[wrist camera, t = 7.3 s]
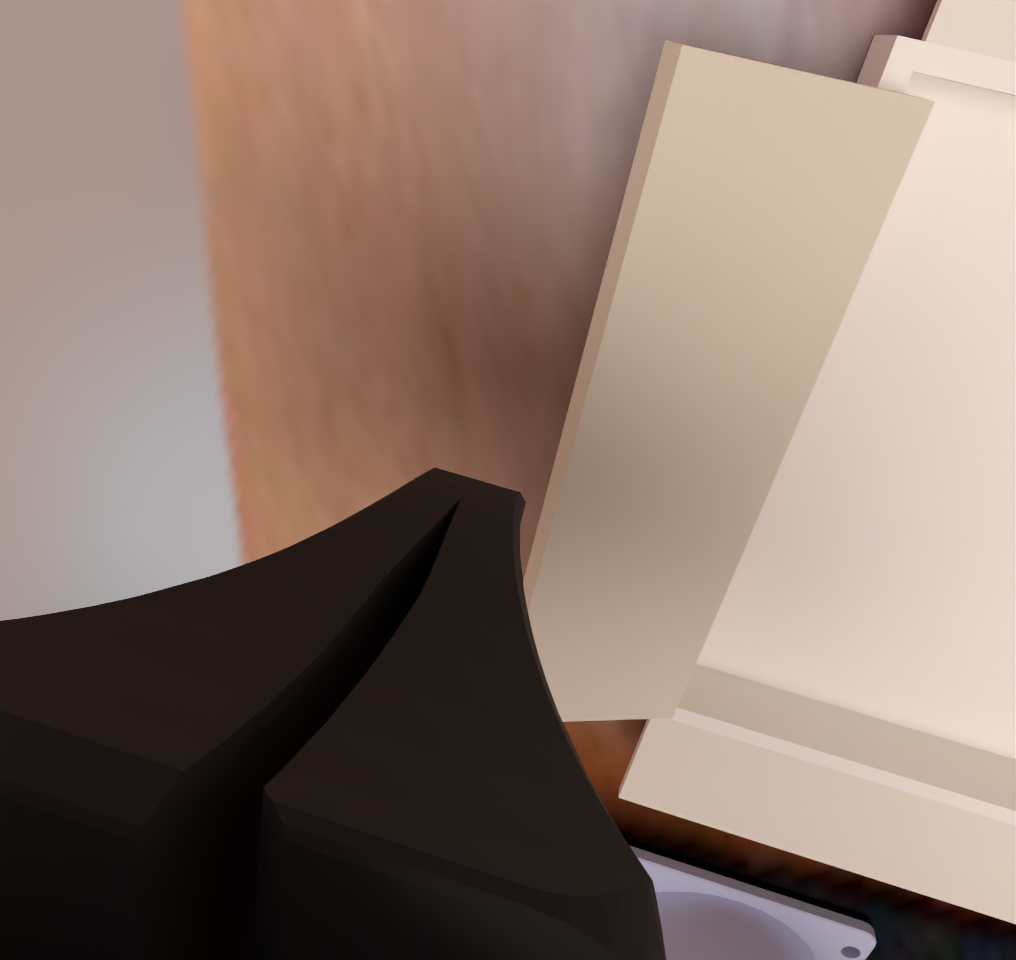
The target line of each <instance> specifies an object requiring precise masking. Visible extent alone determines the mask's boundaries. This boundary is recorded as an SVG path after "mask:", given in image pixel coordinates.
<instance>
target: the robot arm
mask: <svg viewBox="0 0 1016 960" xmlns="http://www.w3.org/2000/svg"><path fill="white" fill-rule="evenodd" d="M525 503H526V502H525V500H524V498H523V497H522V495H521V493H520V492H517V491H513V490H510V489H507V488H503V487H500V486H496V485H493V484H489V483H486V482H482V481H479V480H476V479H472V478H469V477H465V476H462V475H458V474H455V473H451V472H448V471H444V470H441V469H438V468H433V469H431V470H429V471H428V472H426V473H424V474H422V475H420V476H419V477H417V478H415V479H414V480H412V481H410V482H409V483H407V484H405V485H404V486H402V487H400V488H399V489H397V490H395V491H394V492H392V493H390V494H389V495H387V496H385V497H384V498H382V499H380V500H379V501H377V502H375V503H373V504H372V505H370V506H368V507H366V508H364V509H363V510H361V511H359V512H357V513H355V514H354V515H352V516H350V517H348V518H346V519H345V520H343V521H341V522H339V523H337V524H335V525H334V526H332V527H330V528H328V529H326V530H323V531H321V532H319V533H317V534H315V535H313V536H311V537H309V538H307V539H305V540H303V541H301V542H298V543H296V544H294V545H292V546H290V547H288V548H285V549H283V550H281V551H278V552H276V553H273V554H271V555H268V556H266V557H263V558H261V559H258V560H256V561H253V562H250V563H247V564H244V565H242V566H239V567H236V568H233V569H231V570H228V571H225V572H222V573H219V574H216V575H213V576H210V577H206V578H203V579H199V580H195V581H192V582H188V583H185V584H181V585H177V586H174V587H171V588H167V589H163V590H159V591H156V592H152V593H148V594H145V595H141V596H137V597H133V598H129V599H124V600H119V601H115V602H110V603H105V604H101V605H96V606H91V607H85V608H80V609H74V610H69V611H64V612H58V613H52V614H46V615H40V616H33V617H27V618H20V619H13V620H4V621H0V960H865V959H866V958H867V957H868V955H869V954H870V953H871V951H872V950H873V949H874V947H875V945H876V937H875V932H874V929H873V927H872V926H871V925H870V924H868V923H866V922H864V921H862V920H858V919H855V918H852V917H849V916H846V915H843V914H840V913H837V912H834V911H831V910H828V909H824V908H821V907H818V906H815V905H812V904H809V903H806V902H803V901H800V900H797V899H793V898H790V897H787V896H784V895H781V894H778V893H775V892H772V891H769V890H766V889H763V888H759V887H756V886H753V885H750V884H747V883H744V882H741V881H738V880H735V879H732V878H728V877H725V876H722V875H719V874H716V873H713V872H710V871H707V870H704V869H701V868H698V867H694V866H691V865H688V864H685V863H682V862H679V861H676V860H673V859H670V858H667V857H663V856H660V855H657V854H654V853H651V852H648V851H645V850H642V849H639V848H636V847H633V846H629V844H628V843H627V841H626V840H625V838H624V837H623V835H622V834H621V832H620V831H619V829H618V827H617V826H616V824H615V823H614V821H613V819H612V818H611V816H610V814H609V813H608V811H607V809H606V807H605V806H604V804H603V802H602V800H601V798H600V797H599V795H598V793H597V791H596V789H595V787H594V786H593V784H592V782H591V780H590V778H589V777H588V775H587V773H586V771H585V769H584V767H583V765H582V762H581V760H580V758H579V756H578V754H577V752H576V750H575V747H574V745H573V743H572V741H571V739H570V737H569V734H568V732H567V730H566V728H565V726H564V724H563V722H562V719H561V717H560V715H559V713H558V710H557V707H556V705H555V702H554V699H553V697H552V694H551V691H550V689H549V686H548V683H547V680H546V677H545V674H544V671H543V668H542V665H541V662H540V658H539V655H538V652H537V648H536V644H535V641H534V637H533V633H532V628H531V624H530V619H529V614H528V609H527V605H526V599H525V593H524V586H523V577H522V569H521V560H520V523H521V519H522V515H523V511H524V507H525Z"/></svg>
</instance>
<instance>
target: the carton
mask: <svg viewBox="0 0 1016 960" xmlns="http://www.w3.org/2000/svg"><path fill="white" fill-rule="evenodd" d="M857 83H859V84H864V85H868V86H873V87H877V88H882V89H886V90H890V91H895V92H899V93H904V94H908V95H912V96H916V97H920V98H924V99H928V100H931V101H935V103H934V105H933V108H932V110H931V112H930V115H929V117H928V120H927V122H926V124H925V127H924V129H923V131H922V134H921V136H920V138H919V141H918V143H917V145H916V148H915V150H914V152H913V155H912V157H911V159H910V162H909V164H908V167H907V169H906V171H905V174H904V176H903V178H902V181H901V183H900V185H899V188H898V190H897V192H896V195H895V197H894V199H893V202H892V204H891V206H890V209H889V211H888V214H887V216H886V218H885V221H884V223H883V225H882V228H881V230H880V232H879V235H878V237H877V239H876V242H875V244H874V246H873V249H872V251H871V253H870V256H869V258H868V260H867V263H866V265H865V268H864V270H863V272H862V275H861V277H860V279H859V282H858V284H857V286H856V289H855V291H854V293H853V296H852V298H851V300H850V303H849V305H848V307H847V310H846V312H845V315H844V317H843V319H842V322H841V324H840V326H839V329H838V331H837V333H836V336H835V338H834V340H833V343H832V345H831V347H830V350H829V352H828V354H827V357H826V359H825V362H824V364H823V366H822V369H821V371H820V373H819V376H818V378H817V380H816V383H815V385H814V387H813V390H812V392H811V394H810V397H809V399H808V401H807V404H806V406H805V409H804V411H803V413H802V416H801V418H800V420H799V423H798V425H797V427H796V430H795V432H794V434H793V437H792V439H791V441H790V444H789V446H788V448H787V451H786V453H785V456H784V458H783V460H782V463H781V465H780V467H779V470H778V472H777V474H776V477H775V479H774V481H773V484H772V486H771V488H770V491H769V493H768V495H767V498H766V500H765V502H764V505H763V507H762V510H761V512H760V514H759V517H758V519H757V521H756V524H755V526H754V528H753V531H752V533H751V535H750V538H749V540H748V542H747V545H746V547H745V549H744V552H743V554H742V557H741V559H740V561H739V564H738V566H737V568H736V571H735V573H734V575H733V578H732V580H731V582H730V585H729V587H728V589H727V592H726V594H725V596H724V599H723V601H722V604H721V606H720V608H719V611H718V613H717V615H716V618H715V620H714V622H713V625H712V627H711V629H710V632H709V634H708V636H707V639H706V641H705V643H704V646H703V648H702V651H701V653H700V655H699V658H698V660H697V662H696V665H695V667H694V669H693V672H692V674H691V676H690V679H689V681H688V683H687V686H686V688H685V690H684V693H683V695H682V698H681V700H680V702H679V705H678V707H677V709H676V712H675V714H674V716H673V718H660V719H647V721H646V723H645V726H644V728H643V731H642V733H641V736H640V738H639V741H638V743H637V746H636V748H635V751H634V753H633V756H632V758H631V761H630V763H629V766H628V768H627V771H626V773H625V776H624V778H623V780H622V783H621V785H620V788H619V795H618V798H621V799H624V800H627V801H630V802H634V803H637V804H640V805H643V806H646V807H649V808H652V809H656V810H659V811H662V812H665V813H668V814H671V815H674V816H678V817H681V818H684V819H687V820H690V821H693V822H696V823H700V824H703V825H706V826H709V827H712V828H715V829H718V830H722V831H725V832H728V833H731V834H734V835H737V836H740V837H744V838H747V839H750V840H753V841H756V842H759V843H762V844H766V845H769V846H772V847H775V848H778V849H781V850H784V851H788V852H791V853H794V854H797V855H800V856H803V857H806V858H810V859H813V860H816V861H819V862H822V863H825V864H828V865H832V866H835V867H838V868H841V869H844V870H847V871H850V872H854V873H857V874H860V875H863V876H866V877H869V878H872V879H876V880H879V881H882V882H885V883H888V884H891V885H894V886H898V887H901V888H904V889H907V890H910V891H913V892H916V893H920V894H923V895H926V896H929V897H932V898H935V899H938V900H942V901H945V902H948V903H951V904H954V905H957V906H960V907H964V908H967V909H970V910H973V911H976V912H979V913H982V914H986V915H989V916H992V917H995V918H998V919H1001V920H1004V921H1008V922H1011V923H1014V924H1016V0H937V2H936V5H935V7H934V10H933V12H932V15H931V17H930V20H929V22H928V25H927V27H926V30H925V32H924V35H923V37H922V40H917V39H912V38H908V37H903V36H899V35H874V38H873V40H872V43H871V46H870V48H869V51H868V54H867V56H866V59H865V62H864V64H863V67H862V70H861V72H860V75H859V78H858V80H857Z"/></svg>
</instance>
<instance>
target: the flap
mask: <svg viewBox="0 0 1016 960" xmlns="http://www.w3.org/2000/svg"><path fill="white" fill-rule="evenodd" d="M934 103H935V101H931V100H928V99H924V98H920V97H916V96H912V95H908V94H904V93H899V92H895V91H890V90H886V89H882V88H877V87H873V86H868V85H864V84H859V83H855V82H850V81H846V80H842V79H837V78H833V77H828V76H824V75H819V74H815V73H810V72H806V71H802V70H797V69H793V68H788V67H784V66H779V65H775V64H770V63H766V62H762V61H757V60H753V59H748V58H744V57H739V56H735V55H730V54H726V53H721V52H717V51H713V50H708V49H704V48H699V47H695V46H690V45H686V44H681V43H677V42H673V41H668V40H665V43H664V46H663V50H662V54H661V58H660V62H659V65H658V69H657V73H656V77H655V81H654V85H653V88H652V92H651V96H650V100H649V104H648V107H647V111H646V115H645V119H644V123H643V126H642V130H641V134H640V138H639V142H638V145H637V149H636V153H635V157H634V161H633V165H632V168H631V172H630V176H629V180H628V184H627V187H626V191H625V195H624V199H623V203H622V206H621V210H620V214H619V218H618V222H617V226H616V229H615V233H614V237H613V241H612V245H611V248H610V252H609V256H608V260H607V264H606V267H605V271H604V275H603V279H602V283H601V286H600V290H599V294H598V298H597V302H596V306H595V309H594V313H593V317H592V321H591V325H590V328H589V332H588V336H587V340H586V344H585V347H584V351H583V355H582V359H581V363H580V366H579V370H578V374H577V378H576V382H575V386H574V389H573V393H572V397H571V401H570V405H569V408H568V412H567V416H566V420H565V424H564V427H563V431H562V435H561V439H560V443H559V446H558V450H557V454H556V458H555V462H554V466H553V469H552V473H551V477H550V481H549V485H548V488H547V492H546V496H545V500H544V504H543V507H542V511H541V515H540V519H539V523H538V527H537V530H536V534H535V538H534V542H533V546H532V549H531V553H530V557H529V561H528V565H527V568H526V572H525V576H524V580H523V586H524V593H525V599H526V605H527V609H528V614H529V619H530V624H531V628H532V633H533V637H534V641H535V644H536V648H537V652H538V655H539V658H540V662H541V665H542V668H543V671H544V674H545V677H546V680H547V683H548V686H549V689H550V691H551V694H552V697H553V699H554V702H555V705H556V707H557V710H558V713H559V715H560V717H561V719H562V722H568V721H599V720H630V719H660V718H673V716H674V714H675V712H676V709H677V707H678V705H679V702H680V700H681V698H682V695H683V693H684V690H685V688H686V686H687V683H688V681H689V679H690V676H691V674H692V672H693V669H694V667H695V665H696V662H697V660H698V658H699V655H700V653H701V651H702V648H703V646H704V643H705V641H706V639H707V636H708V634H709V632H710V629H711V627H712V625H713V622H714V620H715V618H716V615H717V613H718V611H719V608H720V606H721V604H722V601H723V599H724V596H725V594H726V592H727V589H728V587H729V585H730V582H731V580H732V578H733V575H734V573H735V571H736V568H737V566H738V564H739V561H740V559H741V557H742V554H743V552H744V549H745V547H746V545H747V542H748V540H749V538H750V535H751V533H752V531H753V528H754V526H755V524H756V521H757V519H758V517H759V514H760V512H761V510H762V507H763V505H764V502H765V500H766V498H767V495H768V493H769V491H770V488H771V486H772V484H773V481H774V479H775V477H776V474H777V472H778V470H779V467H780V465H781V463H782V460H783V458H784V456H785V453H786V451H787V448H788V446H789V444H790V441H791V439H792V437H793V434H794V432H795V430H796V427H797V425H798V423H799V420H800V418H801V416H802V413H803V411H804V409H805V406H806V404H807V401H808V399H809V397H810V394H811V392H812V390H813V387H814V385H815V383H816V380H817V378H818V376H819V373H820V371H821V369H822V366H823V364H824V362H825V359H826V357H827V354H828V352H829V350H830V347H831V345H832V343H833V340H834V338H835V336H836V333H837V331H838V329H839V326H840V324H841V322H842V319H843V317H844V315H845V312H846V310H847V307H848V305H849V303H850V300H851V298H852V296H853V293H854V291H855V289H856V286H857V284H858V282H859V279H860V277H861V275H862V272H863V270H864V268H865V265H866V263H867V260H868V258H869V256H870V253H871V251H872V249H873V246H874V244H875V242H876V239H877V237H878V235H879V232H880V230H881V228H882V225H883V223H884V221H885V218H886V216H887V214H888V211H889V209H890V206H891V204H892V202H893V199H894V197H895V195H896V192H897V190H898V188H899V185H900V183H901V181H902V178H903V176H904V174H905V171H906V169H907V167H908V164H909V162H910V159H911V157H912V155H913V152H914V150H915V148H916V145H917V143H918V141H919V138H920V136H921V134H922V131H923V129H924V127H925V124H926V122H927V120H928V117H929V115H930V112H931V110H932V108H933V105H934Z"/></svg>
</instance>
